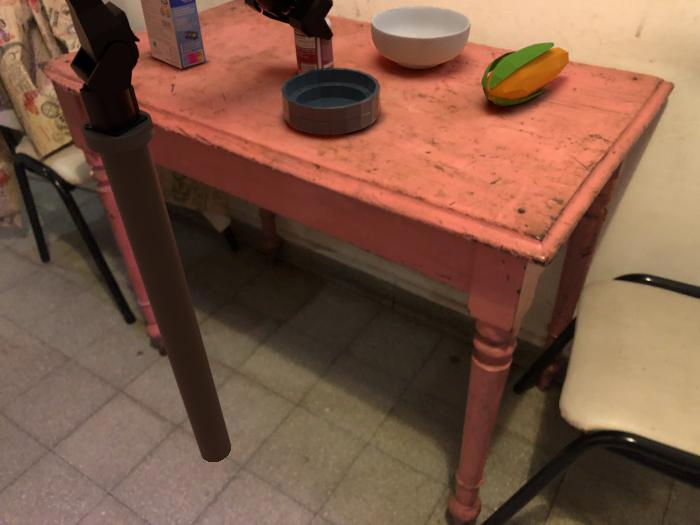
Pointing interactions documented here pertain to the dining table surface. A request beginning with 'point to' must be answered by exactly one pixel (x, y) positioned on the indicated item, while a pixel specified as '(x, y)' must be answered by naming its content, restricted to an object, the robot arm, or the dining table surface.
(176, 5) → the ink cartridge box
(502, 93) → the corn
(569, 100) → the dining table surface
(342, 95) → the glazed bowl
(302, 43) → the pill bottle
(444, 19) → the cereal bowl
